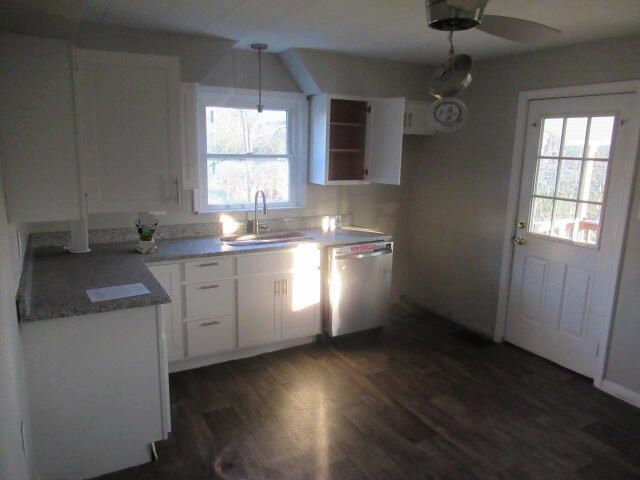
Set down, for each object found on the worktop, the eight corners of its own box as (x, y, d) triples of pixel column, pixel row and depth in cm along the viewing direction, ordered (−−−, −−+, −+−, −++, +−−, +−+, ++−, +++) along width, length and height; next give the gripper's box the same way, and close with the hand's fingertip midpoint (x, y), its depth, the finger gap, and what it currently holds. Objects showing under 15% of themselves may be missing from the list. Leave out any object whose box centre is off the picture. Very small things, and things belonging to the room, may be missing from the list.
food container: (133, 238, 319) (135, 223, 318) (141, 238, 324) (143, 224, 323) (145, 240, 312) (147, 225, 311) (152, 241, 317) (154, 226, 316)
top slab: (140, 248, 312) (140, 242, 311) (139, 244, 323) (139, 238, 323) (155, 247, 316) (154, 241, 315) (153, 243, 327) (152, 238, 326)
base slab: (142, 254, 312) (142, 248, 311) (136, 250, 323) (136, 244, 322) (157, 253, 318) (157, 247, 317) (150, 249, 329) (150, 243, 328)
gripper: (135, 209, 307) (135, 235, 310) (161, 208, 318) (161, 233, 321) (131, 207, 312) (131, 233, 315) (156, 206, 324) (156, 231, 327)
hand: (146, 233), depth 318 cm, fingers open, 8 cm apart
